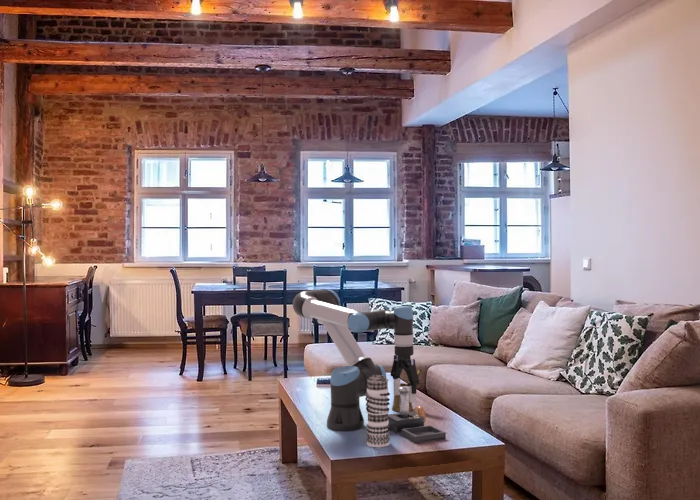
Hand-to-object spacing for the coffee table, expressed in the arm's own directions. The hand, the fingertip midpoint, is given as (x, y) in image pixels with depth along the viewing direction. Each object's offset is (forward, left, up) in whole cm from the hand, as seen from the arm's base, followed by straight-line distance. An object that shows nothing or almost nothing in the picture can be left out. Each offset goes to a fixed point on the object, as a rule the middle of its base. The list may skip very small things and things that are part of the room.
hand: (404, 398), depth 259 cm
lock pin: (0, 0, -12) cm, 12 cm away
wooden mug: (+15, +27, -12) cm, 33 cm away
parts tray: (+1, -13, -12) cm, 18 cm away
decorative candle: (-18, -13, -12) cm, 26 cm away
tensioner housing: (+1, 0, -12) cm, 12 cm away
